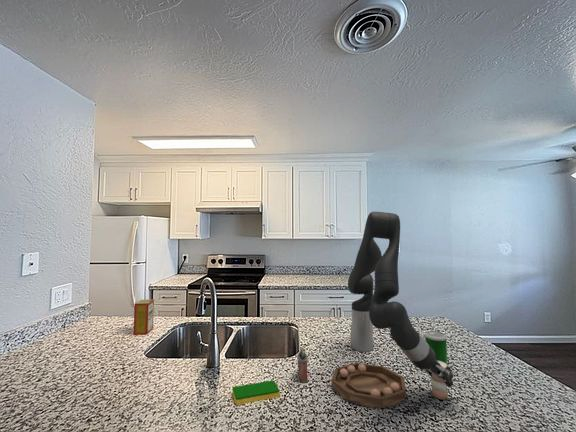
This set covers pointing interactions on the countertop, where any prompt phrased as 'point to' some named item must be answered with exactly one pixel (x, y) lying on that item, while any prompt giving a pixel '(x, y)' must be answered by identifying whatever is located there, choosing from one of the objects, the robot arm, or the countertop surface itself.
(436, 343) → the soda can
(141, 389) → the countertop surface
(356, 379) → the bead tray
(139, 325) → the baking soda box
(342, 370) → the seated beads
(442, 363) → the bead stack
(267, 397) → the dish sponge
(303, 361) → the lighter
